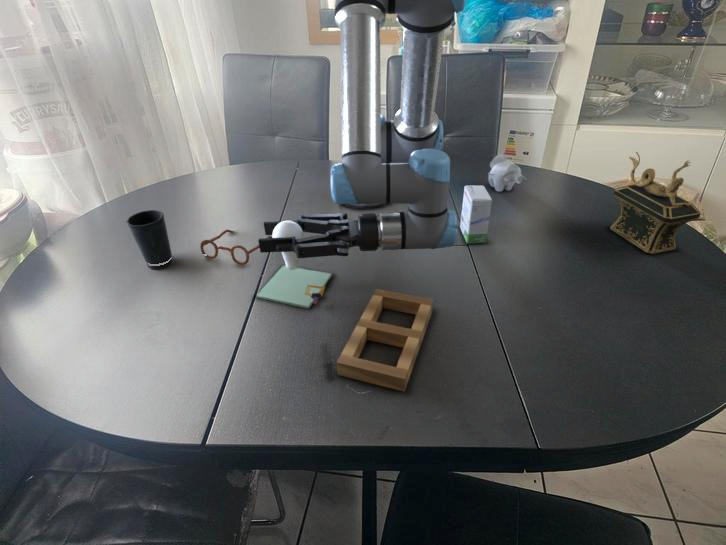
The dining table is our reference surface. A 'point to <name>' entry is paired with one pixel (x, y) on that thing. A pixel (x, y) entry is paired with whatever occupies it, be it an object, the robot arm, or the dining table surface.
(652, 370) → the dining table surface
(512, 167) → the elephant figurine
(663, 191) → the decorative box
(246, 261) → the glasses
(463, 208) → the ink box
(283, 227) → the lightbulb
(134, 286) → the dining table surface
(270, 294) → the mat
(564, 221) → the dining table surface
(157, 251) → the cup
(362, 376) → the holder
